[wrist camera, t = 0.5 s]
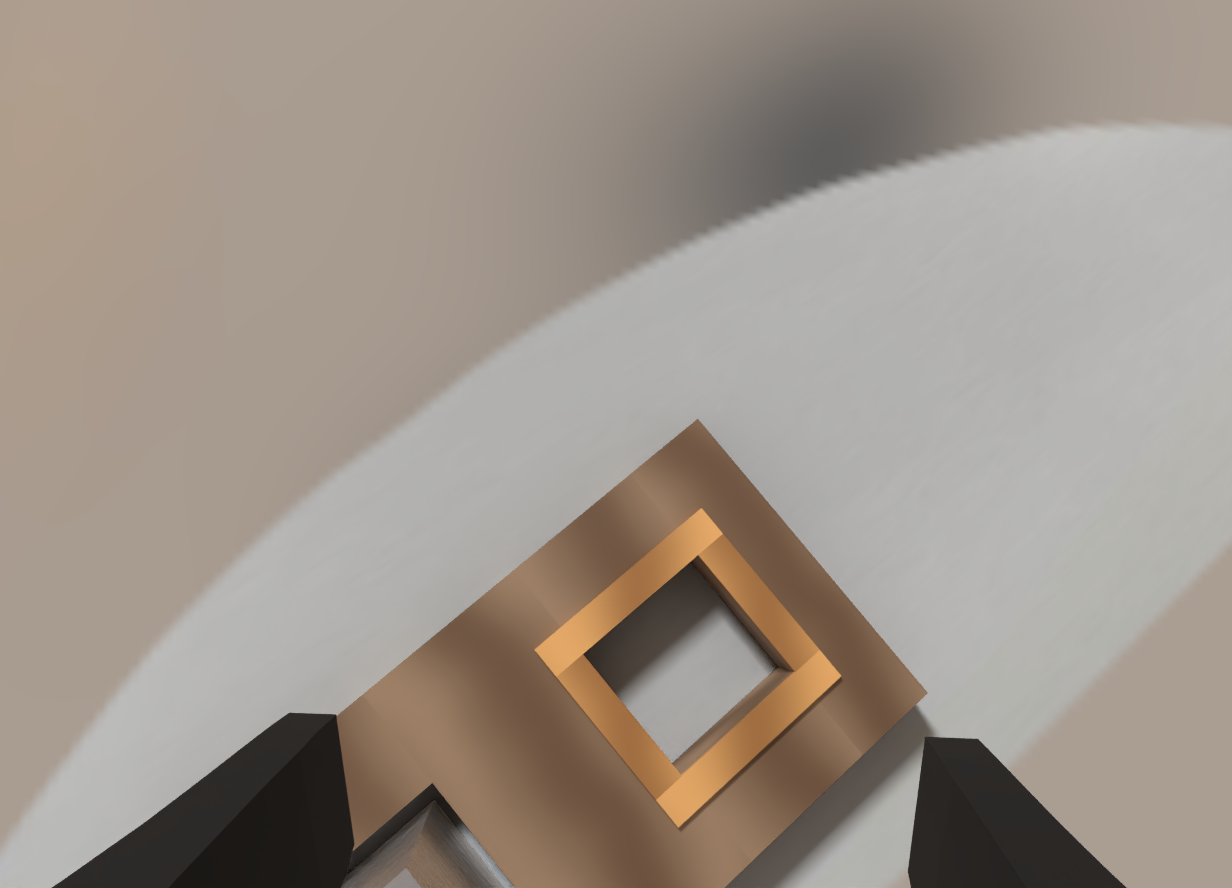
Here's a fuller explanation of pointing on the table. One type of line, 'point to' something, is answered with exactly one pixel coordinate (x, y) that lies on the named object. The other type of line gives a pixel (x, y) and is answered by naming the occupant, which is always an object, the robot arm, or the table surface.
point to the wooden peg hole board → (597, 719)
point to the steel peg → (424, 858)
